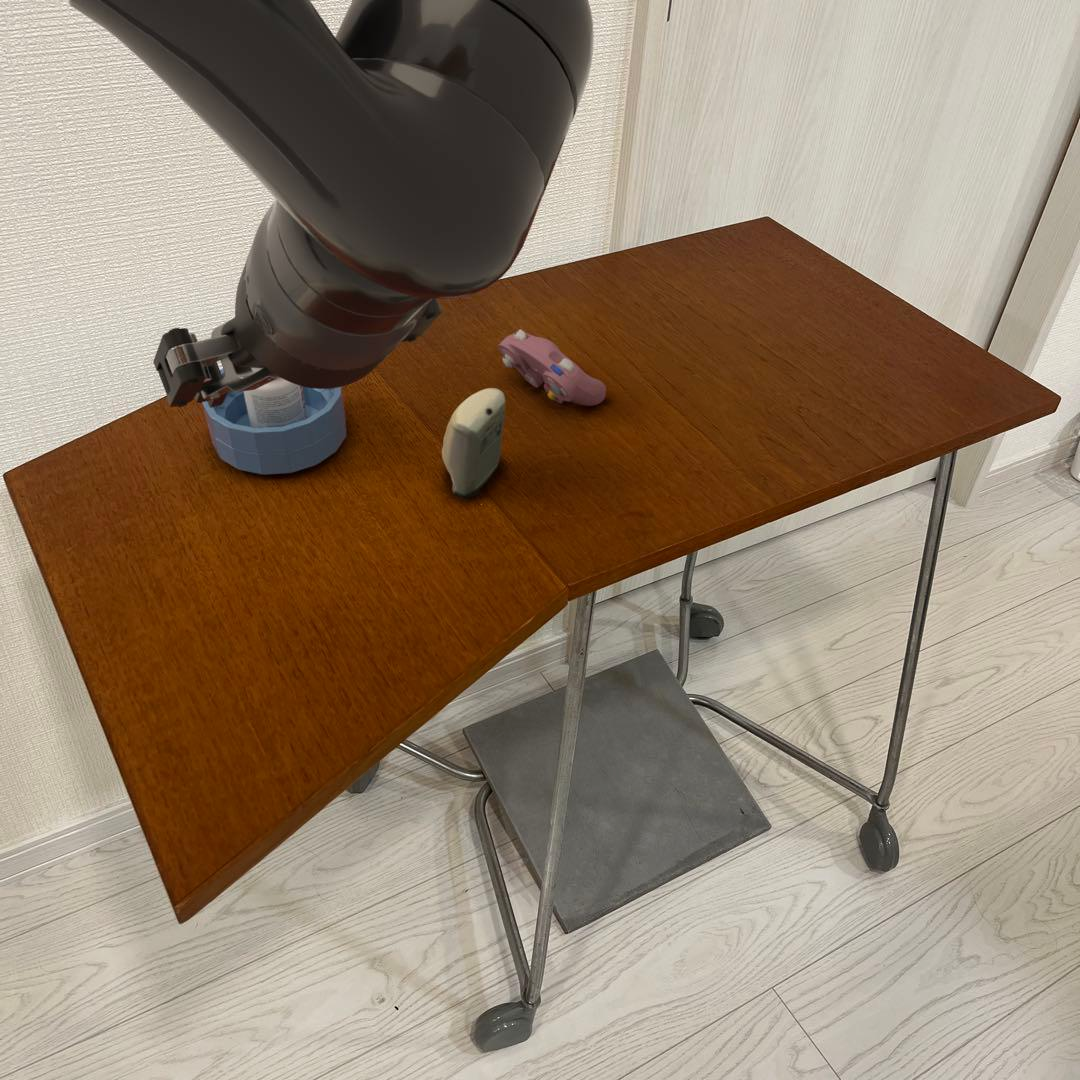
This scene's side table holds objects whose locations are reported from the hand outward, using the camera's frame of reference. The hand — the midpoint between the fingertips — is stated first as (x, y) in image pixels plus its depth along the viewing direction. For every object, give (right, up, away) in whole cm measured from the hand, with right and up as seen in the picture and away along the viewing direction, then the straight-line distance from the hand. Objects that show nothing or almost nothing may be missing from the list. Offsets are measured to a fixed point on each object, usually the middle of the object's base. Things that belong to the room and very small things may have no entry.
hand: (280, 369), depth 59 cm
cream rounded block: (+10, -5, +25) cm, 27 cm away
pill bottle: (-7, -1, +28) cm, 29 cm away
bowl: (-7, -1, +28) cm, 29 cm away
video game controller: (+16, +4, +34) cm, 38 cm away
